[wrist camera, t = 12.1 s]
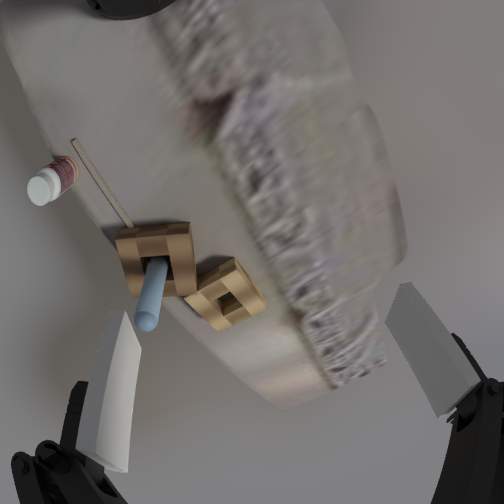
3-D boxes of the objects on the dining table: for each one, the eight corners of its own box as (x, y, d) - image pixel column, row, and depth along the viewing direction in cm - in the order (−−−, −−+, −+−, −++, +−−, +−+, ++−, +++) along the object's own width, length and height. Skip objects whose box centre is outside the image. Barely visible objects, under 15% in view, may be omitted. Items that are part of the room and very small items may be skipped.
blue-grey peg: (150, 248, 42) (129, 319, 29) (168, 248, 42) (153, 319, 29) (153, 264, 43) (135, 336, 30) (170, 264, 44) (158, 336, 31)
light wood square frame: (185, 285, 46) (183, 298, 43) (234, 257, 44) (236, 269, 42) (218, 318, 51) (219, 332, 48) (264, 295, 50) (267, 308, 47)
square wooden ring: (121, 228, 39) (114, 239, 36) (190, 222, 40) (188, 233, 37) (136, 284, 45) (132, 298, 42) (198, 281, 46) (197, 294, 43)
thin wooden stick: (73, 141, 31) (71, 142, 30) (76, 138, 31) (75, 138, 30) (130, 228, 39) (129, 229, 39) (134, 225, 39) (133, 227, 39)
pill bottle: (66, 149, 31) (36, 165, 24) (84, 172, 33) (58, 192, 26) (49, 170, 32) (19, 190, 25) (66, 192, 34) (40, 215, 27)
